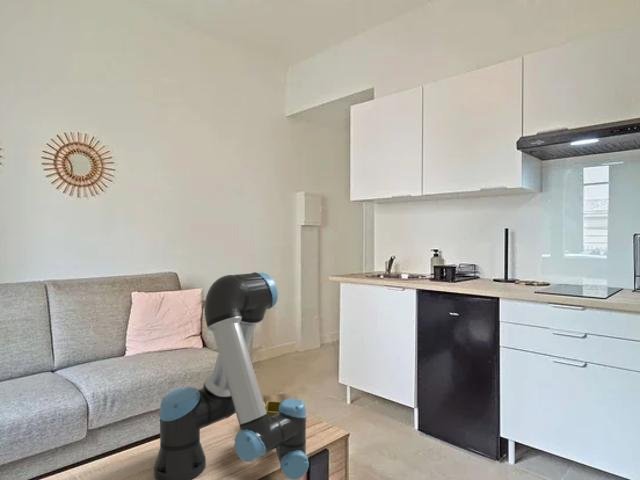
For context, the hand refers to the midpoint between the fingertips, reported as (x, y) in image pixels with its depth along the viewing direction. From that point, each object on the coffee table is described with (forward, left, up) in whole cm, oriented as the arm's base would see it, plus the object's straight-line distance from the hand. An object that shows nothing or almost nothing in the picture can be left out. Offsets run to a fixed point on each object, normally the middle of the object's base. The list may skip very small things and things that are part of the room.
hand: (275, 409), depth 146 cm
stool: (+4, +8, -10) cm, 14 cm away
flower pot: (0, -4, -6) cm, 8 cm away
